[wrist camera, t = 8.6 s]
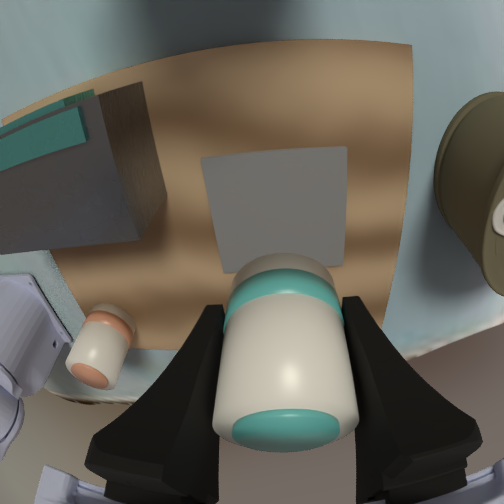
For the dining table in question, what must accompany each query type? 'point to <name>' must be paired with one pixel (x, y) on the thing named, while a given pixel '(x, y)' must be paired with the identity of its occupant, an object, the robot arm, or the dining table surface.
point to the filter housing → (79, 172)
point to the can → (475, 182)
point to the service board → (250, 140)
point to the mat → (278, 204)
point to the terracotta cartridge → (101, 346)
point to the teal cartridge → (284, 359)
